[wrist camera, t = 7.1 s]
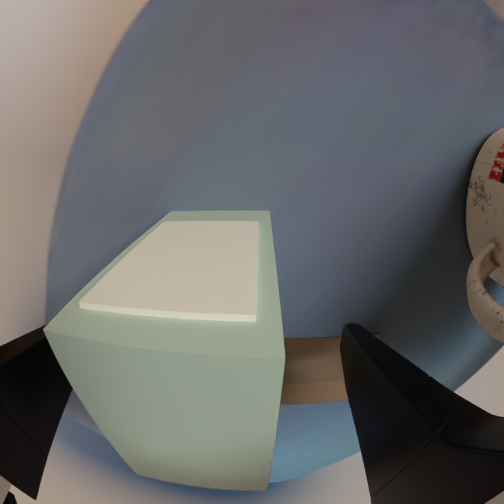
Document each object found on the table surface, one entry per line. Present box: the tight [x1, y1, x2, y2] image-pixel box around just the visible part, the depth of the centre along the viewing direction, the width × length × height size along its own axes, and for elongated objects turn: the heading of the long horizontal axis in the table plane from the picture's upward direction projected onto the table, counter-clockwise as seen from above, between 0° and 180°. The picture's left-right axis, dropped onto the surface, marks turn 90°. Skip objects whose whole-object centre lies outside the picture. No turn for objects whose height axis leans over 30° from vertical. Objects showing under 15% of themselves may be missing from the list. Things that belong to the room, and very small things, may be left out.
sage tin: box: [43, 211, 285, 491], centre depth 8 cm, size 4×6×8 cm, turn 0°
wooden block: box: [280, 334, 382, 404], centre depth 12 cm, size 12×2×3 cm, turn 90°
